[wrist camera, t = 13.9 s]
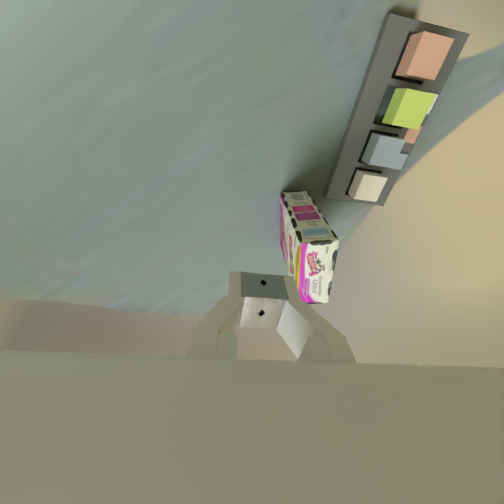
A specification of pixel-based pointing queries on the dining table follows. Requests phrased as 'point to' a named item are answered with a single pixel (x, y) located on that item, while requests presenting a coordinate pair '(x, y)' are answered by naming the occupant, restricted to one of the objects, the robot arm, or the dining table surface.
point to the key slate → (382, 150)
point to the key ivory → (367, 185)
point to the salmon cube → (424, 56)
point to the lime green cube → (408, 108)
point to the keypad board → (370, 101)
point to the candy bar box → (307, 246)
